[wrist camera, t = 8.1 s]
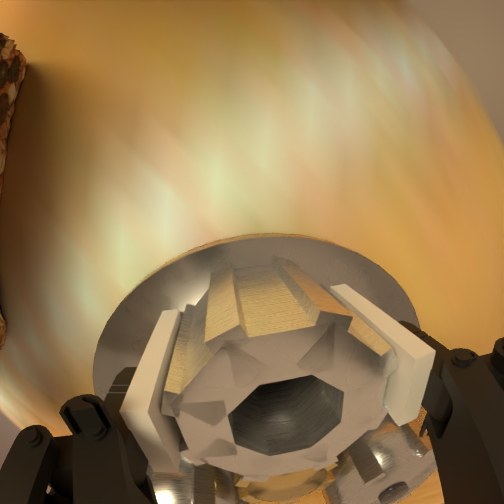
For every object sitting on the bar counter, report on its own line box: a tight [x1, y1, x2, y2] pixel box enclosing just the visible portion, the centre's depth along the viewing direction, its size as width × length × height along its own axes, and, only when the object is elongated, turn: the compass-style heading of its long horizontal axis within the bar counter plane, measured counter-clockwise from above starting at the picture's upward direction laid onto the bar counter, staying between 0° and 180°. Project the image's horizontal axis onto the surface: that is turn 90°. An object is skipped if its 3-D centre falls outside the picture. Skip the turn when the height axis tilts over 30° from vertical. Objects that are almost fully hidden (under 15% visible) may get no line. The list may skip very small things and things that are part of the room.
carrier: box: [93, 233, 438, 504], centre depth 11 cm, size 20×20×8 cm
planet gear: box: [161, 255, 398, 482], centre depth 10 cm, size 7×7×6 cm
